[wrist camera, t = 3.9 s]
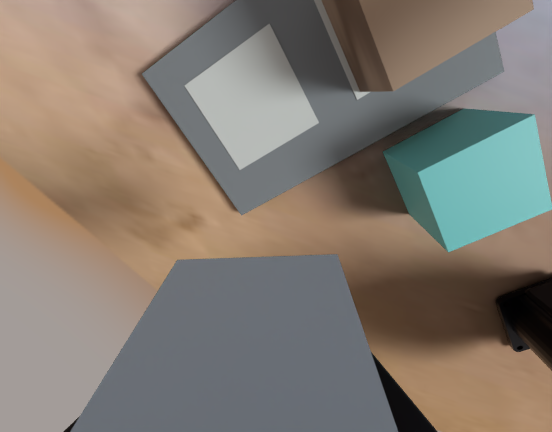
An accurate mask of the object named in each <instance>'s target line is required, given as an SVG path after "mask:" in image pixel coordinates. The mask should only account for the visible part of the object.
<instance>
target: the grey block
mask: <svg viewBox="0 0 552 432" xmlns="http://www.w3.org/2000/svg"><path fill="white" fill-rule="evenodd" d="M70 432H398V430H397V427H396V424H395V421H394V418H393V415H392V412H391V409H390V406H389V403H388V400H387V398H386V395H385V392H384V389H383V386H382V383H381V380H380V377H379V374H378V371H377V368H376V365H375V363H374V360H373V357H372V354H371V351H370V348H369V345H368V342H367V339H366V336H365V333H364V330H363V328H362V325H361V322H360V319H359V316H358V313H357V310H356V307H355V304H354V301H353V298H352V296H351V293H350V290H349V287H348V284H347V281H346V278H345V275H344V272H343V269H342V266H341V263H340V261H339V258H338V255H337V254H332V255H304V256H275V257H247V258H218V259H190V260H177V261H176V263H175V264H174V266H173V268H172V269H171V271H170V272H169V274H168V276H167V277H166V279H165V280H164V282H163V284H162V285H161V287H160V288H159V290H158V292H157V293H156V295H155V297H154V298H153V300H152V301H151V303H150V305H149V306H148V308H147V310H146V311H145V313H144V314H143V316H142V317H141V319H140V321H139V322H138V324H137V325H136V327H135V329H134V330H133V332H132V334H131V335H130V337H129V338H128V340H127V341H126V343H125V345H124V346H123V348H122V349H121V351H120V353H119V354H118V356H117V358H116V359H115V361H114V362H113V364H112V366H111V367H110V369H109V370H108V372H107V374H106V375H105V377H104V378H103V380H102V382H101V383H100V385H99V386H98V388H97V390H96V391H95V393H94V394H93V396H92V398H91V399H90V401H89V402H88V404H87V406H86V407H85V409H84V410H83V412H82V414H81V415H80V417H79V418H78V420H77V422H76V423H75V425H74V426H73V428H72V430H71V431H70Z"/></svg>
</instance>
